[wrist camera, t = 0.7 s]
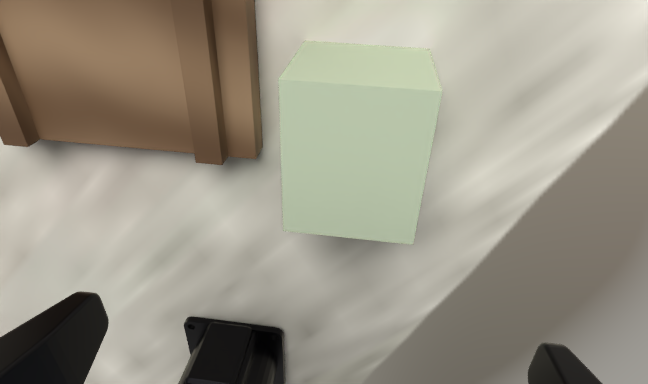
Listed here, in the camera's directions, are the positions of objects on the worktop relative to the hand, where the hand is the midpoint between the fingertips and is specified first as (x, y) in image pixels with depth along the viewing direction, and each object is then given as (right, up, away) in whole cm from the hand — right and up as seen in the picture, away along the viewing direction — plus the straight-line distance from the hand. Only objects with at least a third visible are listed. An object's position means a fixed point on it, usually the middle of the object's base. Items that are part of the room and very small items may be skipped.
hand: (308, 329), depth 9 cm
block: (+2, +6, +10) cm, 12 cm away
